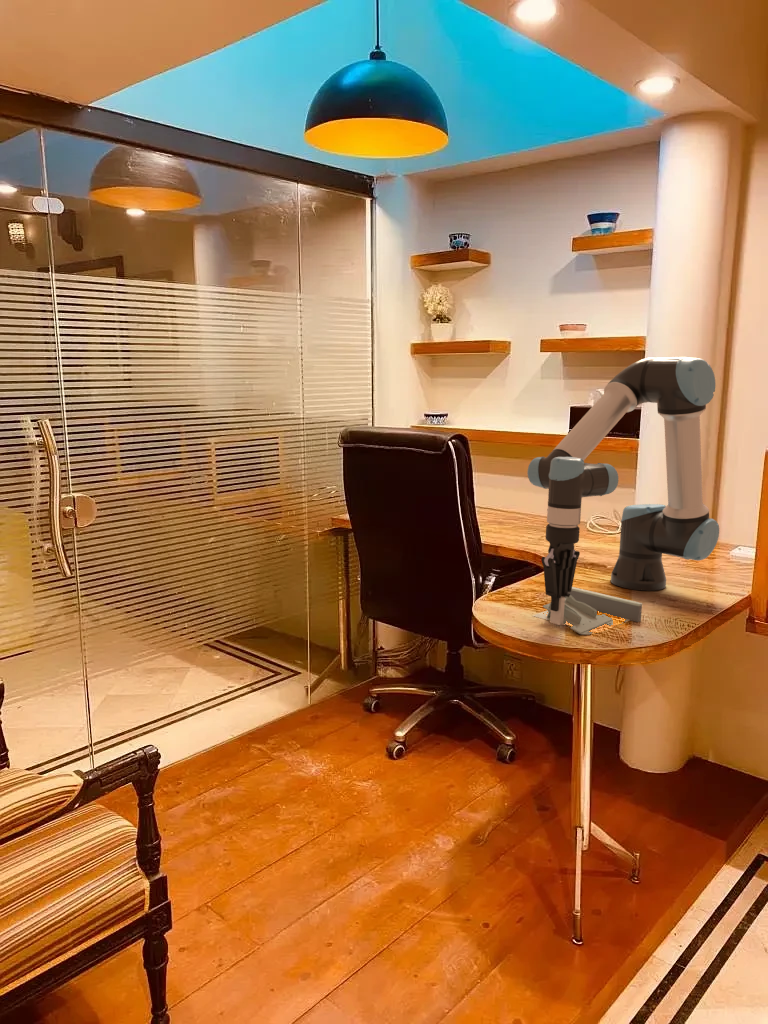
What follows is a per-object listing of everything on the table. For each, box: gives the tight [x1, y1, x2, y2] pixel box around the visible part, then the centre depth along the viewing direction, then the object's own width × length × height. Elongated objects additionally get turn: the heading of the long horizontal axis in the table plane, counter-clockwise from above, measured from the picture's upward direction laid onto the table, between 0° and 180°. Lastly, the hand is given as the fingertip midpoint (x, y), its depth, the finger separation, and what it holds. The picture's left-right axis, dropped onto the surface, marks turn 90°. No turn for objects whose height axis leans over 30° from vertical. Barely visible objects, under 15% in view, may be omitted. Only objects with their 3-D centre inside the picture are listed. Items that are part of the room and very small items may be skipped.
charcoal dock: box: [532, 586, 644, 626], centre depth 192 cm, size 17×22×5 cm
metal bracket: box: [542, 595, 613, 636], centre depth 187 cm, size 14×6×15 cm
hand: (556, 623), depth 184 cm, fingers closed
